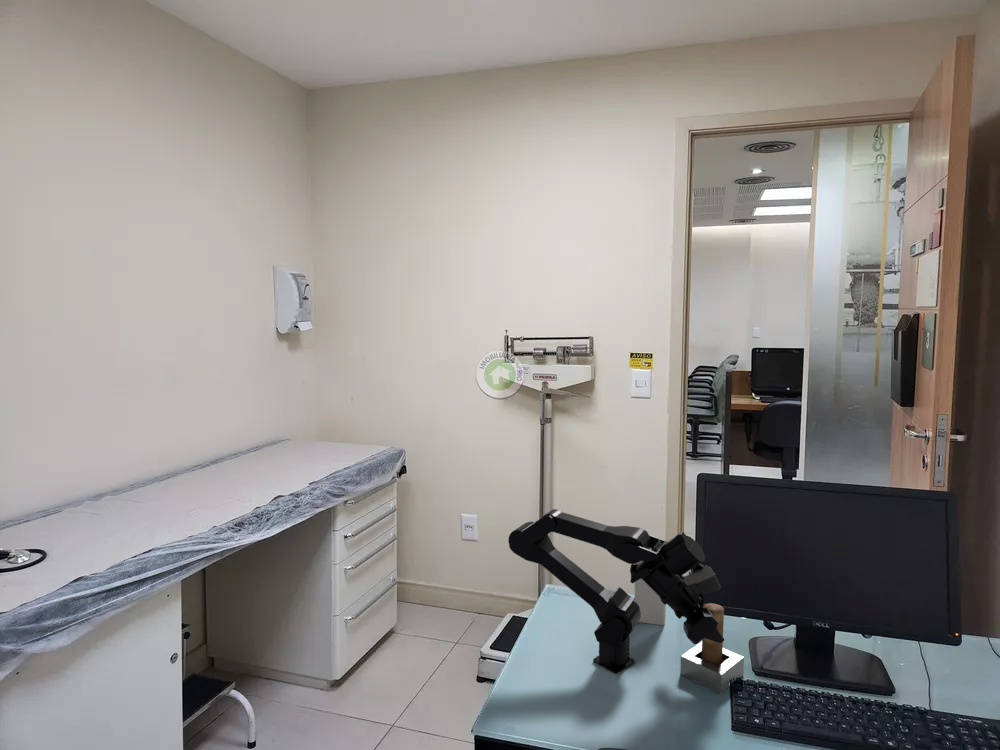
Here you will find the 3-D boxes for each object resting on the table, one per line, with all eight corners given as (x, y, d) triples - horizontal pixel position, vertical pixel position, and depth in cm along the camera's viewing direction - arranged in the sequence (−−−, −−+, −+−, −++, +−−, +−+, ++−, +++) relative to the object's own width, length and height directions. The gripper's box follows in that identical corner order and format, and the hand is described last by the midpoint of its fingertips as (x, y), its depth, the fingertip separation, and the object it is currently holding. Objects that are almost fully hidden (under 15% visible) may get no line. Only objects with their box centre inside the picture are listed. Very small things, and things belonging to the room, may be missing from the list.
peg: (715, 676, 127) (717, 615, 125) (697, 668, 130) (699, 607, 128) (725, 668, 129) (727, 608, 128) (707, 660, 132) (709, 601, 131)
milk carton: (634, 622, 151) (634, 545, 149) (636, 608, 158) (637, 535, 156) (664, 626, 149) (666, 549, 147) (665, 612, 156) (667, 538, 154)
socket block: (721, 693, 123) (721, 674, 123) (680, 674, 130) (680, 655, 129) (743, 675, 129) (743, 656, 129) (703, 657, 136) (703, 639, 135)
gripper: (708, 576, 118) (766, 633, 118) (684, 539, 136) (734, 588, 137) (664, 616, 119) (722, 672, 120) (646, 573, 137) (696, 622, 138)
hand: (719, 635), depth 128 cm, fingers closed on peg, 4 cm apart
